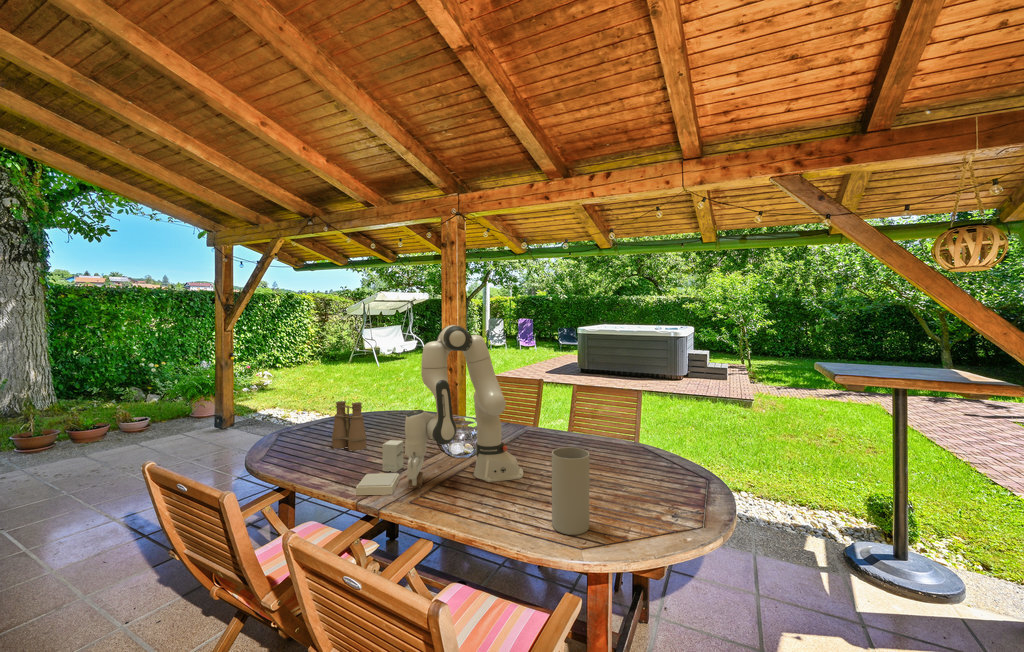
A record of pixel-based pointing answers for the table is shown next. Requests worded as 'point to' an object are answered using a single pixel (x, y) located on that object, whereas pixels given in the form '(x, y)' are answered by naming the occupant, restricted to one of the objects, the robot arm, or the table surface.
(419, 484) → the walnut block
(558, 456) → the cylinder vase
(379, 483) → the plinth
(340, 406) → the binoculars
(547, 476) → the table surface
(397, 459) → the supplement box
